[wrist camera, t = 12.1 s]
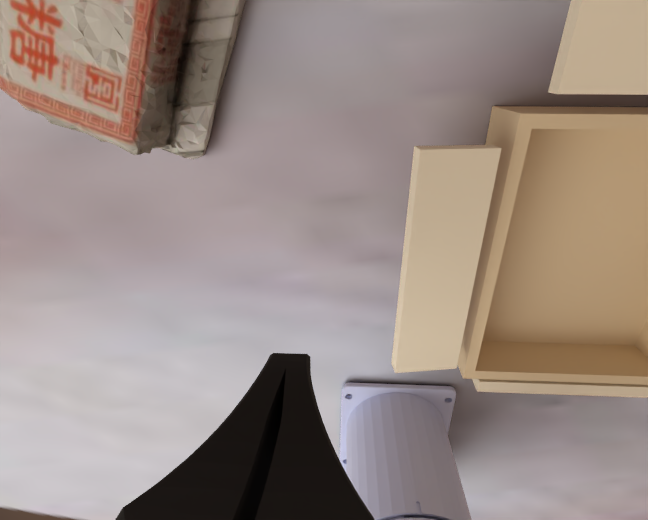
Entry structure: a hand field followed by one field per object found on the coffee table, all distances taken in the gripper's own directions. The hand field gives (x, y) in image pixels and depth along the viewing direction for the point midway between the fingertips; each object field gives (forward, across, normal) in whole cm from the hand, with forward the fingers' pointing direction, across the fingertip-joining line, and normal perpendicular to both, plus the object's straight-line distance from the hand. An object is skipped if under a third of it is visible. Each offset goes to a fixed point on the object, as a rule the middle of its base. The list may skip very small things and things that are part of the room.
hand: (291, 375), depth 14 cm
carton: (+10, -15, -1) cm, 18 cm away
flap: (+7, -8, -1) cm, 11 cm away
